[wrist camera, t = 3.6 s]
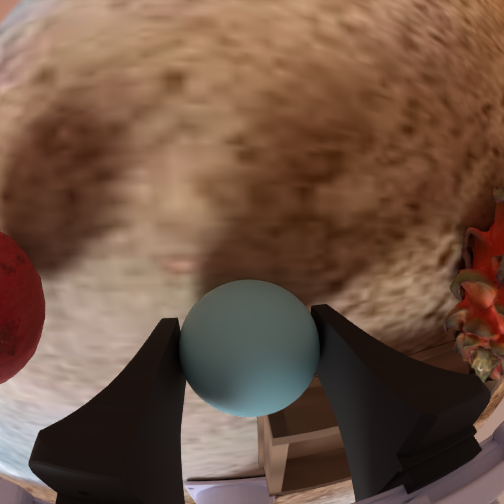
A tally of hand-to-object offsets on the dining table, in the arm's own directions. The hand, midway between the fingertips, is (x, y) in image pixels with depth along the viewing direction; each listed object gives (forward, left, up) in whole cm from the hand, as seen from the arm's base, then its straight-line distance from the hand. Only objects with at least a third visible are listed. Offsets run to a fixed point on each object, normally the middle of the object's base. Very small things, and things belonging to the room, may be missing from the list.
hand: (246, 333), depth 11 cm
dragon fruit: (+2, -14, -2) cm, 14 cm away
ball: (0, 0, +1) cm, 1 cm away
